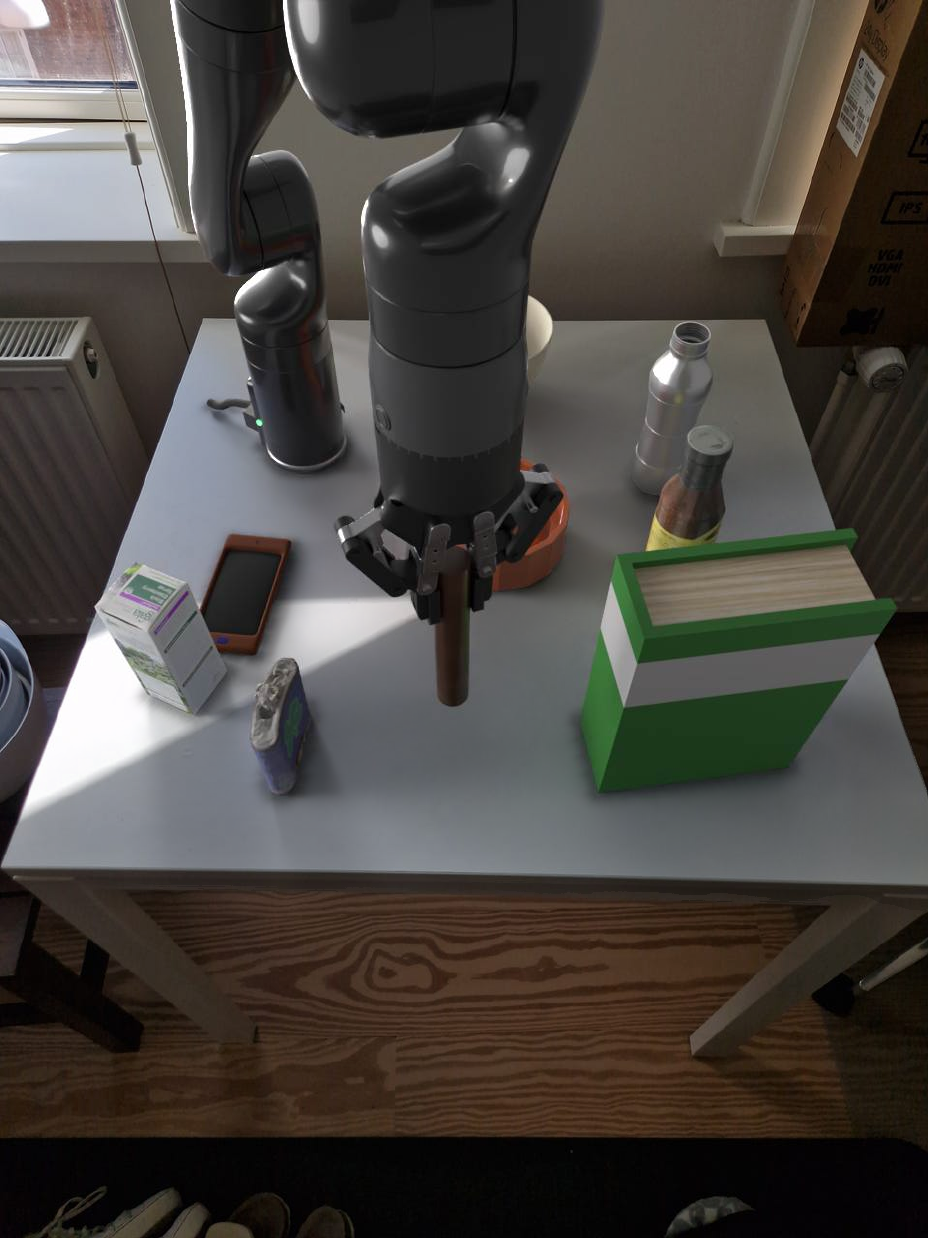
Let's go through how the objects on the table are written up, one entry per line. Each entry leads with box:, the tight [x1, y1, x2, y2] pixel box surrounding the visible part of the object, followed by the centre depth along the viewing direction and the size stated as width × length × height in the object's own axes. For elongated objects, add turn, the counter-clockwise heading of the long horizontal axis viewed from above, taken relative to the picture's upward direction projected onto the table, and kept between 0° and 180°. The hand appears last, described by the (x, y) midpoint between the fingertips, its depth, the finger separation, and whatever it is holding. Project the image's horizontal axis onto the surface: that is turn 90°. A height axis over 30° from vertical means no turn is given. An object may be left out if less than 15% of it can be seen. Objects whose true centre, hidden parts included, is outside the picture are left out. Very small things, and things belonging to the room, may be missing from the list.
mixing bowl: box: [457, 458, 571, 592], centre depth 91 cm, size 14×14×6 cm
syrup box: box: [94, 561, 227, 716], centre depth 77 cm, size 6×6×14 cm
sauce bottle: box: [645, 425, 734, 551], centre depth 81 cm, size 6×6×20 cm
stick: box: [433, 545, 471, 708], centre depth 58 cm, size 2×2×16 cm
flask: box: [249, 657, 312, 796], centre depth 74 cm, size 9×3×11 cm, turn 173°
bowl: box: [526, 294, 555, 387], centre depth 104 cm, size 16×16×10 cm
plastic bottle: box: [629, 321, 714, 496], centre depth 90 cm, size 6×7×20 cm
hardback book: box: [579, 527, 898, 794], centre depth 69 cm, size 18×7×24 cm, turn 98°
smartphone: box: [199, 533, 292, 657], centre depth 88 cm, size 7×1×15 cm
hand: (451, 607), depth 56 cm, fingers closed on stick, 2 cm apart
